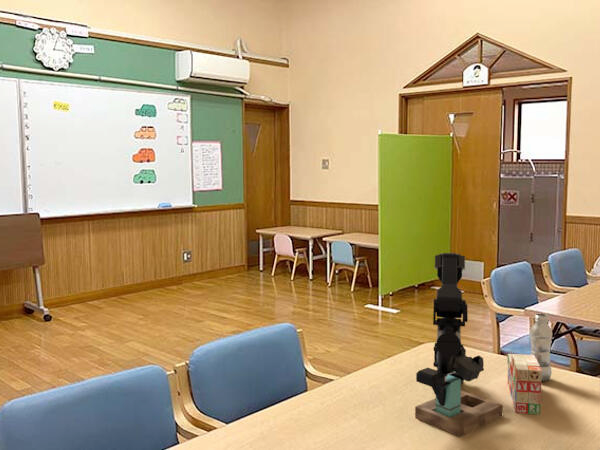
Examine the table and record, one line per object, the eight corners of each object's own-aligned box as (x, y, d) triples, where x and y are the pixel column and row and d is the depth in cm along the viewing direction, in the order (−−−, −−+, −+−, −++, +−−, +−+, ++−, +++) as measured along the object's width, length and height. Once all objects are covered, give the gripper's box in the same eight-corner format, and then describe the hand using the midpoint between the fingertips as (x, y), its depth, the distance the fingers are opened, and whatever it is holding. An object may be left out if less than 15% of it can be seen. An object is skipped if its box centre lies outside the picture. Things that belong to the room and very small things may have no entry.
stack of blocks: (506, 383, 175) (507, 343, 174) (529, 385, 174) (530, 344, 172) (515, 413, 154) (516, 368, 153) (540, 415, 153) (542, 370, 152)
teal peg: (435, 415, 150) (435, 378, 149) (446, 410, 153) (446, 373, 152) (449, 421, 147) (450, 383, 145) (460, 416, 149) (461, 378, 148)
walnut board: (415, 417, 152) (415, 406, 152) (457, 399, 164) (457, 389, 163) (460, 436, 142) (460, 424, 141) (502, 415, 153) (502, 404, 152)
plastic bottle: (553, 378, 178) (555, 313, 176) (549, 385, 173) (551, 319, 171) (530, 374, 182) (532, 311, 180) (526, 381, 176) (527, 316, 174)
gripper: (452, 360, 136) (451, 424, 137) (498, 343, 147) (497, 403, 149) (414, 348, 144) (414, 409, 146) (461, 333, 156) (460, 390, 157)
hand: (448, 402), depth 149 cm, fingers closed on teal peg, 4 cm apart
